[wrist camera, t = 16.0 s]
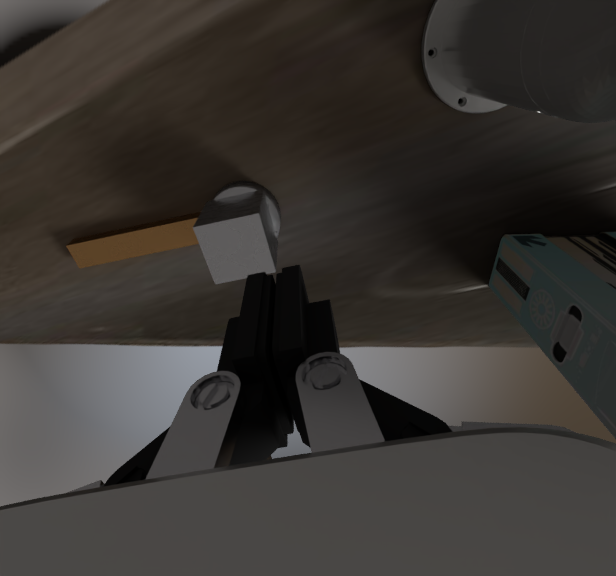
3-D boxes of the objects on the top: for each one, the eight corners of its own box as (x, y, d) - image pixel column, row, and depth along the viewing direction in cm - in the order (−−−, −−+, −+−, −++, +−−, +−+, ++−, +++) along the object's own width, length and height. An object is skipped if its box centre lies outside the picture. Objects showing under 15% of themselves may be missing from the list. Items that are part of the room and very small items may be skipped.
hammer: (270, 173, 42) (267, 192, 37) (287, 239, 46) (287, 265, 41) (62, 219, 44) (29, 244, 38) (96, 278, 48) (71, 308, 43)
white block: (263, 188, 40) (258, 213, 34) (278, 241, 44) (276, 271, 38) (207, 201, 41) (192, 227, 35) (225, 252, 44) (215, 284, 38)
